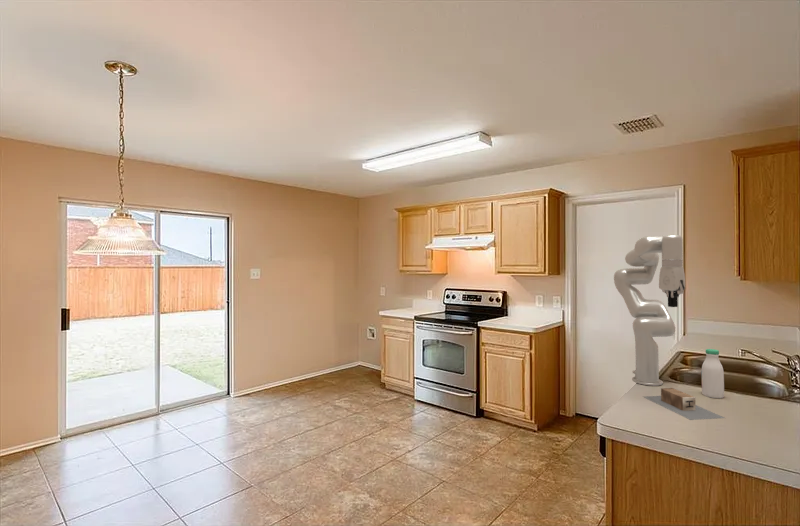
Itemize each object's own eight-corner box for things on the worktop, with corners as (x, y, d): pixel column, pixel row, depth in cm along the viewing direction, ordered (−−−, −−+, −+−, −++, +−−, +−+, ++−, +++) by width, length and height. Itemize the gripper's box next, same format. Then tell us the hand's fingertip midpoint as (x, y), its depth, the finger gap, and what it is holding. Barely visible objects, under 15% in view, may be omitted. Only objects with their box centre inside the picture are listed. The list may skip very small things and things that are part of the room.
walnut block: (683, 410, 159) (661, 400, 171) (695, 410, 159) (672, 399, 171) (683, 397, 159) (661, 388, 171) (695, 397, 159) (672, 387, 171)
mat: (642, 397, 176) (642, 396, 176) (672, 396, 177) (672, 395, 177) (690, 420, 150) (690, 419, 150) (725, 419, 151) (725, 417, 151)
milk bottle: (728, 398, 173) (728, 351, 173) (710, 398, 173) (709, 351, 173) (715, 392, 180) (714, 347, 180) (697, 393, 180) (696, 347, 180)
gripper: (651, 264, 182) (652, 305, 182) (677, 264, 167) (678, 309, 167) (667, 263, 183) (668, 304, 183) (694, 264, 168) (695, 308, 168)
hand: (672, 306), depth 175 cm, fingers closed
